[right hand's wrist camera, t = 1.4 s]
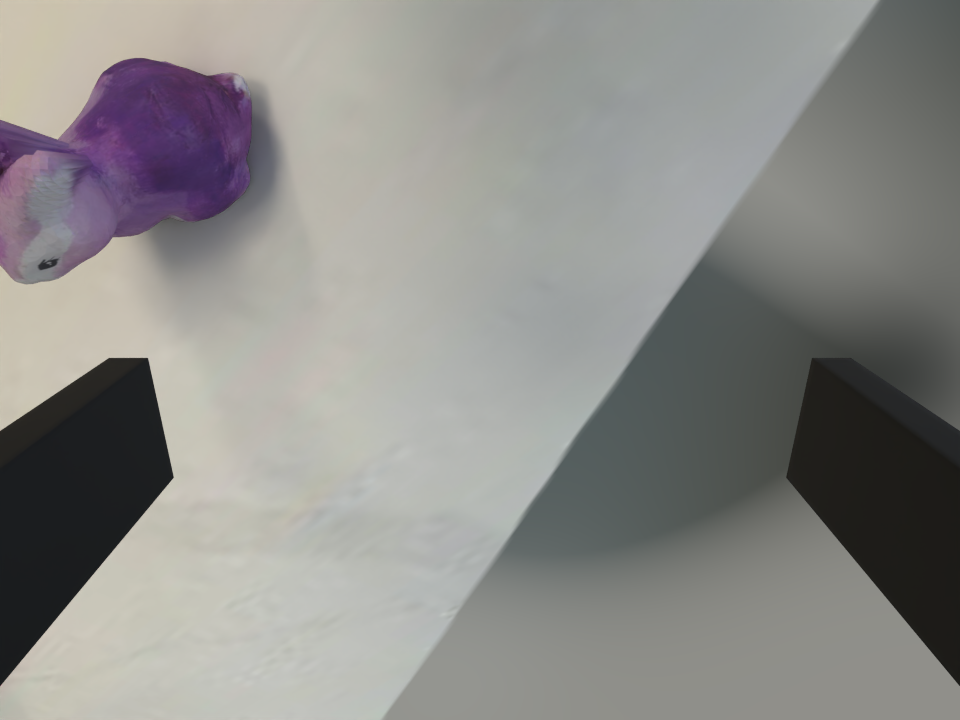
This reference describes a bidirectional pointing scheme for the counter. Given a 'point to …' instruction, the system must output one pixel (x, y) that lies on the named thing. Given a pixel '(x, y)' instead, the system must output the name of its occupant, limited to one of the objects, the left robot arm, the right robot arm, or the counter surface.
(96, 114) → the figurine
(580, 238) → the counter surface
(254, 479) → the counter surface
